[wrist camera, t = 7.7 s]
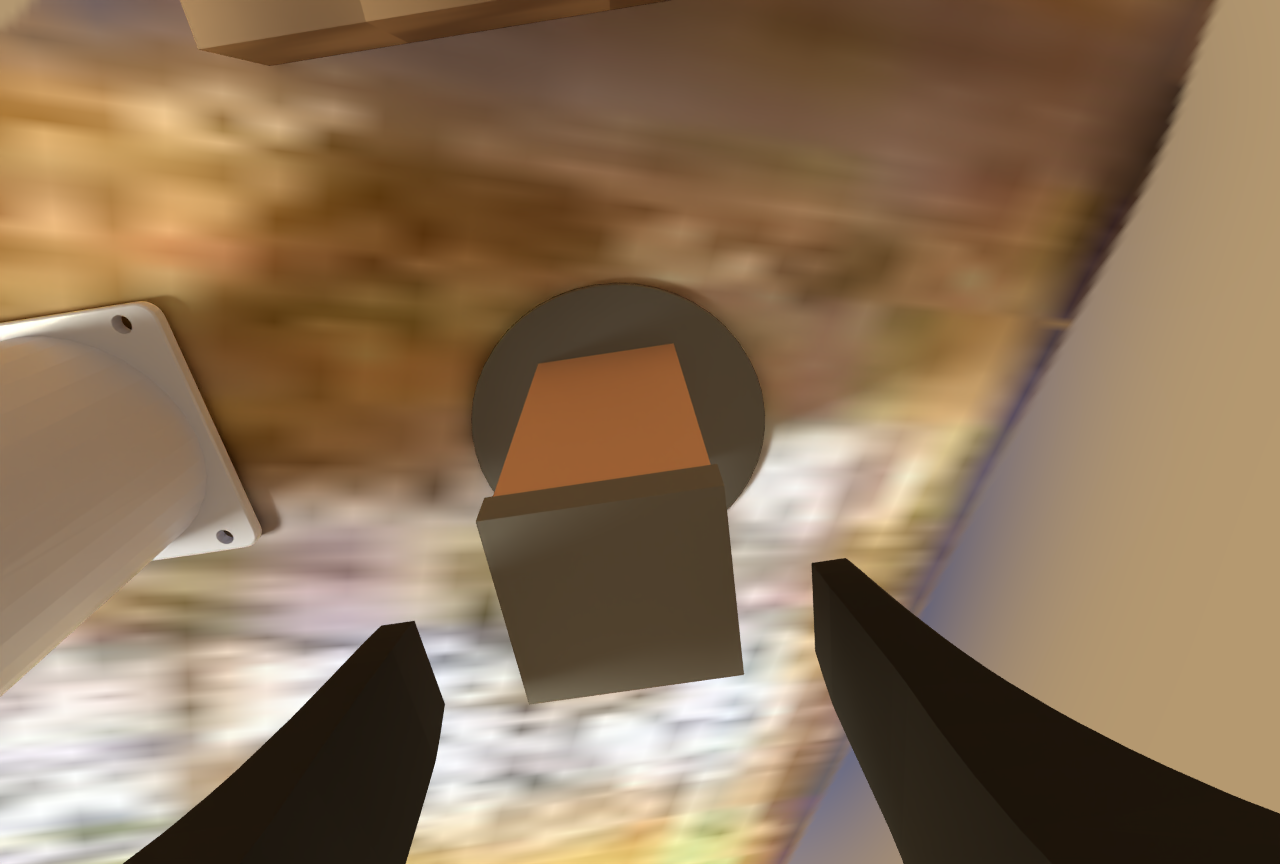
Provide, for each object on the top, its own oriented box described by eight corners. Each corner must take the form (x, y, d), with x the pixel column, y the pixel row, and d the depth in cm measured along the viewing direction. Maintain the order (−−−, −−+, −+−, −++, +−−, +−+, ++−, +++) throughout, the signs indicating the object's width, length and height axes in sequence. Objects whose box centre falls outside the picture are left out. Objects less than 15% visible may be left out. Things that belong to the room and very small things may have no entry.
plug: (561, 485, 21) (528, 704, 13) (534, 360, 19) (475, 522, 11) (692, 466, 20) (744, 674, 12) (676, 339, 19) (724, 485, 11)
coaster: (510, 564, 22) (508, 571, 22) (439, 308, 19) (436, 311, 18) (770, 527, 22) (773, 534, 22) (751, 260, 18) (753, 262, 18)
